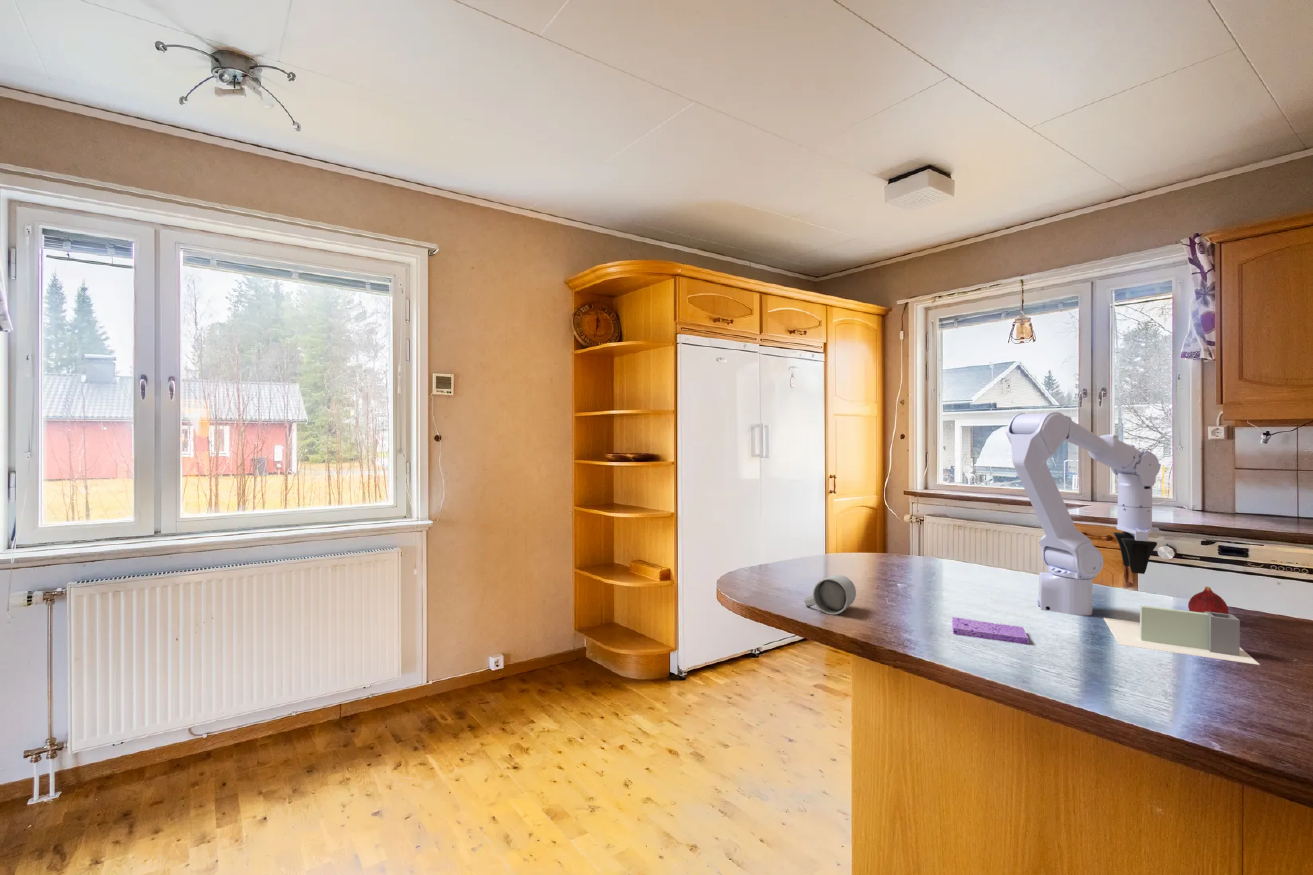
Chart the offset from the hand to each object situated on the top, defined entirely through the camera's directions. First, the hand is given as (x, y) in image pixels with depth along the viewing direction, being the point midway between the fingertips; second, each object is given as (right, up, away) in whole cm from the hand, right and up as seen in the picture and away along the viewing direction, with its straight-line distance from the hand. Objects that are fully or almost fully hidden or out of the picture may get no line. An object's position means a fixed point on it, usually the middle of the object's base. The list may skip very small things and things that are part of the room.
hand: (1134, 569), depth 125 cm
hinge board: (-9, -10, -20) cm, 24 cm away
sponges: (-38, -10, -13) cm, 42 cm away
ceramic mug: (-65, -10, +3) cm, 65 cm away
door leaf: (-10, -8, -23) cm, 26 cm away
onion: (+8, -10, -9) cm, 15 cm away
